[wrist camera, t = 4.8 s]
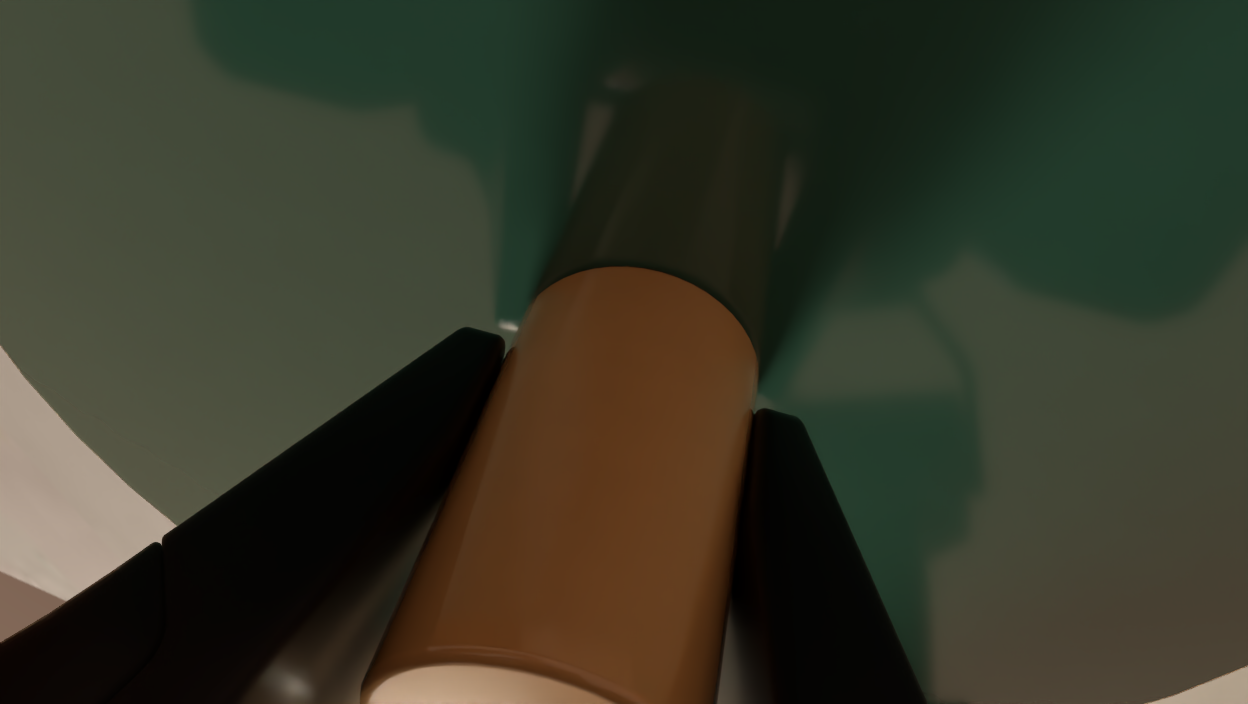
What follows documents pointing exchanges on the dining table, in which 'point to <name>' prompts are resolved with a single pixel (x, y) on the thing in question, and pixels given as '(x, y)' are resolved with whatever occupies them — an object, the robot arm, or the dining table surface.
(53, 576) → the dining table surface
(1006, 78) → the pot lid
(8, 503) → the dining table surface
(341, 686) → the robot arm
